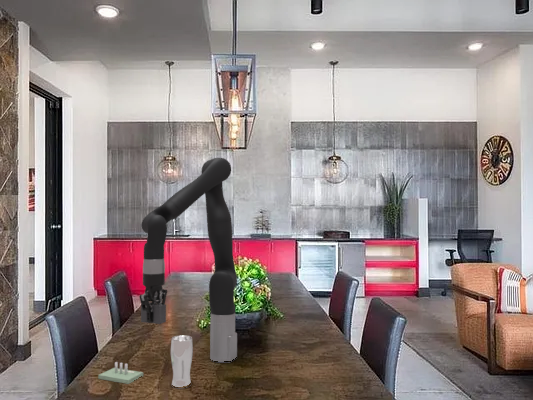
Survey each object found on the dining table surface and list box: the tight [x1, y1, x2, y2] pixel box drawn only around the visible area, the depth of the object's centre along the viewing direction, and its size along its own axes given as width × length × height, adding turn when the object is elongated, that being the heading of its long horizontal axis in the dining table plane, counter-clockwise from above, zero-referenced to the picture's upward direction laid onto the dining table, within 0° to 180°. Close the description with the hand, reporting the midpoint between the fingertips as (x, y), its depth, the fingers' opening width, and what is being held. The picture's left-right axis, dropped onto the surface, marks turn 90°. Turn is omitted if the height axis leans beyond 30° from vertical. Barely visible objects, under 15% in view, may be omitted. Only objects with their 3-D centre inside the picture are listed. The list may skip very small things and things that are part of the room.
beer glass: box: [170, 334, 194, 387], centre depth 158 cm, size 7×7×15 cm
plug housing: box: [140, 303, 167, 325], centre depth 173 cm, size 8×4×6 cm, turn 68°
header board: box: [97, 361, 144, 385], centre depth 165 cm, size 12×8×5 cm, turn 68°
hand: (153, 320), depth 173 cm, fingers closed on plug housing, 3 cm apart
